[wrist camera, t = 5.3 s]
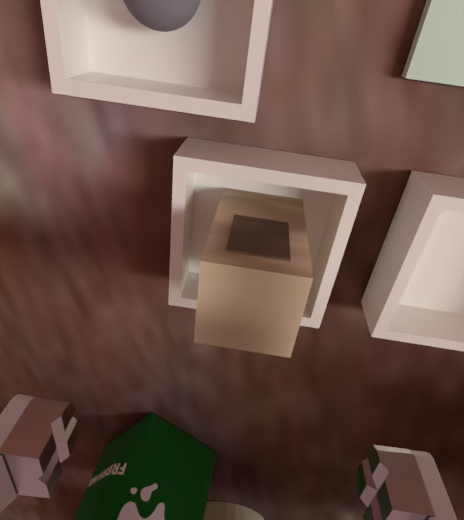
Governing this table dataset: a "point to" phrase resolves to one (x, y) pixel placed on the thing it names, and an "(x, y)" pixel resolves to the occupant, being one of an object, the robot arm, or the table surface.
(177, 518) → the milk carton
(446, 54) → the pad
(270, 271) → the tan tall block
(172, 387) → the table surface
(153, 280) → the table surface
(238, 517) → the reusable coffee cup
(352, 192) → the white square cubby
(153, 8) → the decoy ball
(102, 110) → the table surface
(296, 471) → the table surface
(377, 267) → the white open square tray
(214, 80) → the white square open box
